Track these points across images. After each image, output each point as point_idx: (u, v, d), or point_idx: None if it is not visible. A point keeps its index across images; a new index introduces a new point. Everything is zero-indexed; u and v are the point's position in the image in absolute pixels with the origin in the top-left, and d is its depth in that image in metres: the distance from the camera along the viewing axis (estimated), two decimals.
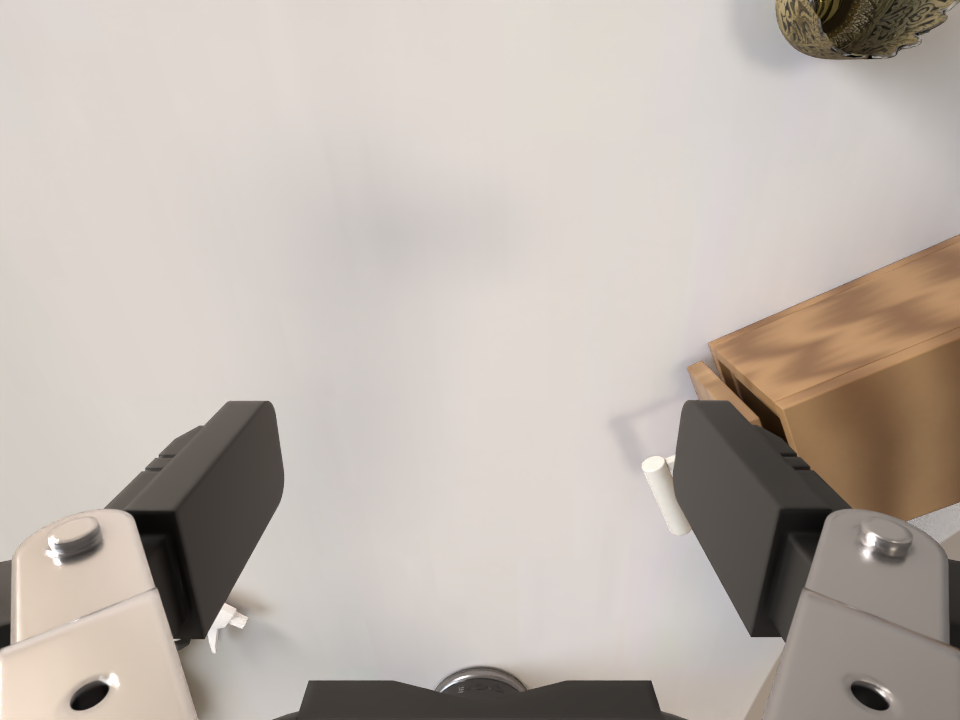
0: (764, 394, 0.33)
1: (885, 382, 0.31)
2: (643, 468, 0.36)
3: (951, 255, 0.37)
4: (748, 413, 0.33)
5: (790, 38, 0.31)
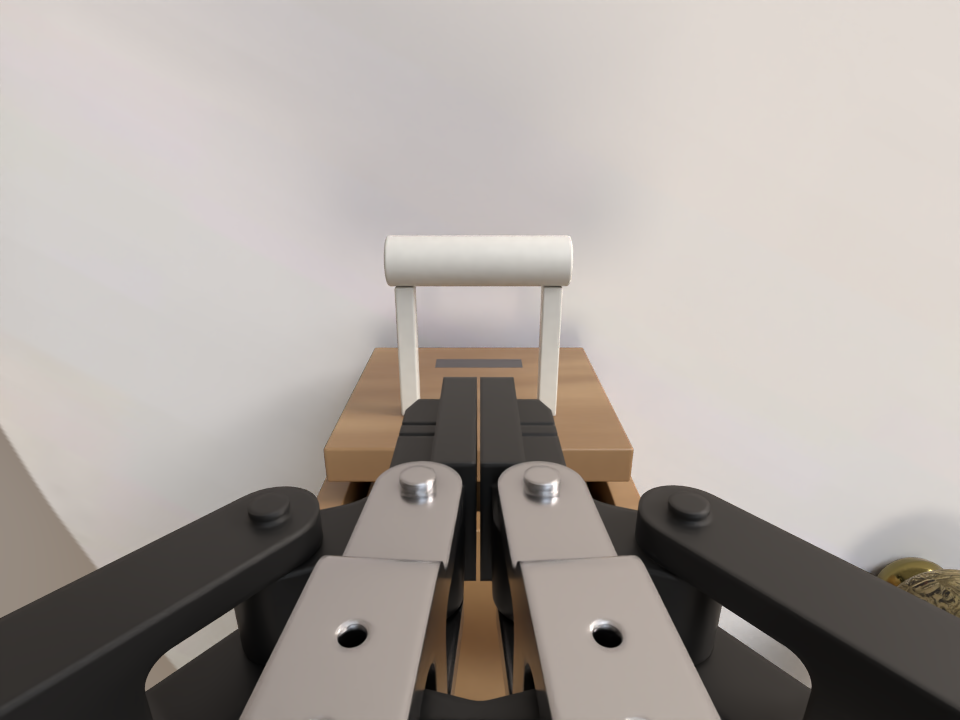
0: (634, 488, 0.19)
1: None
2: (570, 238, 0.17)
3: None
4: None
5: (957, 586, 0.26)
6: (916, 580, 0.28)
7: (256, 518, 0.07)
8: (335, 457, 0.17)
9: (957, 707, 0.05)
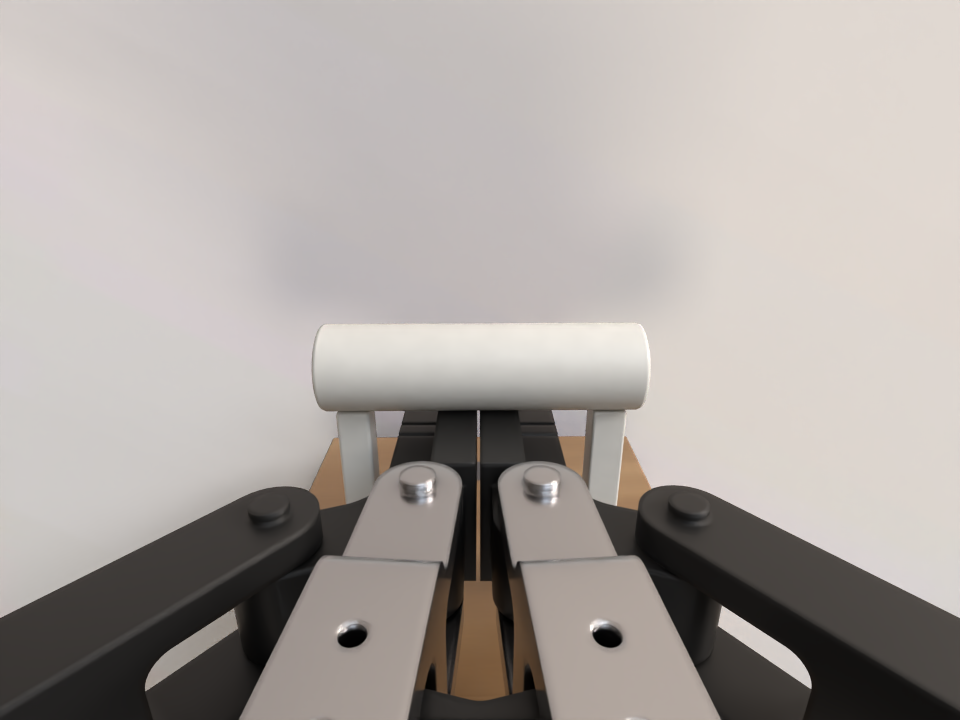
0: None
1: None
2: (643, 331, 0.10)
3: None
4: None
5: None
6: None
7: (256, 517, 0.07)
8: None
9: (958, 708, 0.05)
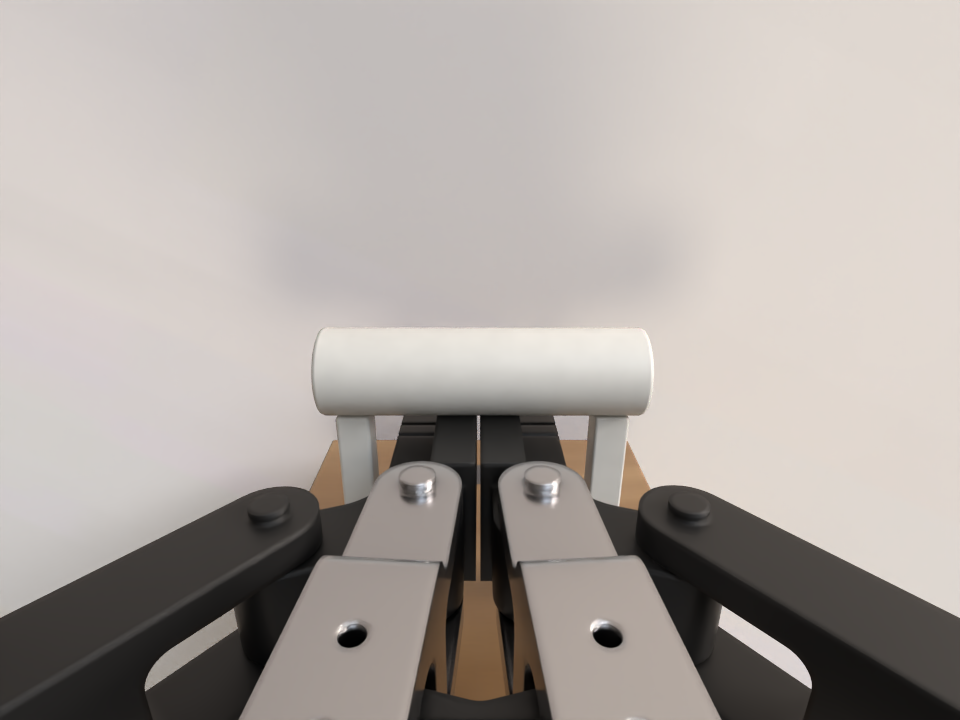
0: None
1: None
2: (647, 336, 0.10)
3: None
4: None
5: None
6: None
7: (256, 518, 0.07)
8: None
9: (958, 708, 0.05)
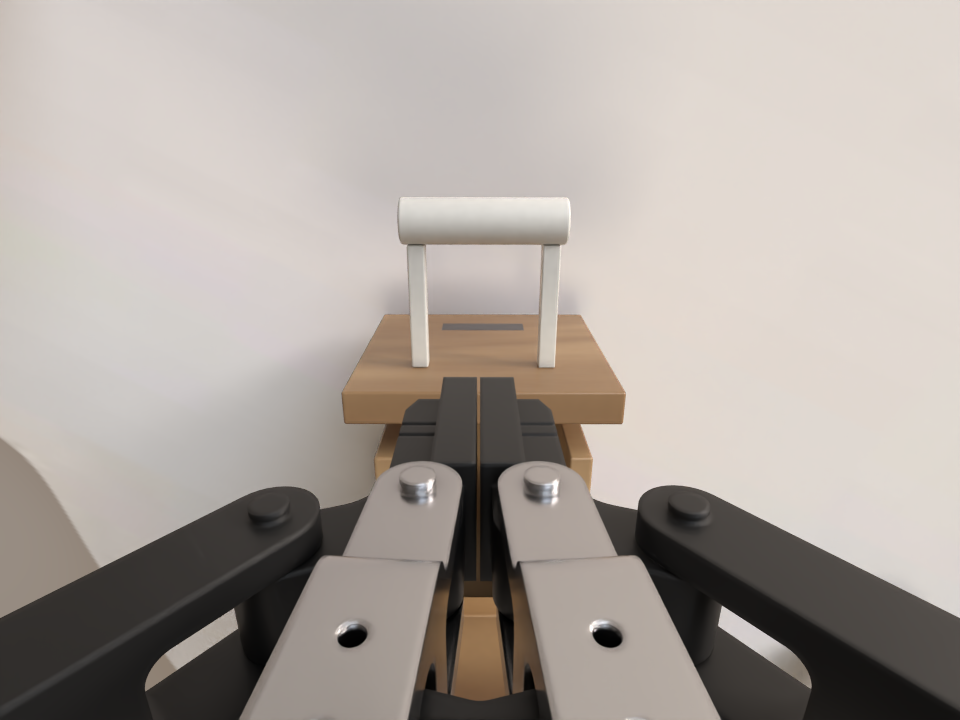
0: None
1: None
2: (568, 200, 0.19)
3: None
4: None
5: None
6: None
7: (256, 517, 0.07)
8: (352, 400, 0.19)
9: (958, 706, 0.05)
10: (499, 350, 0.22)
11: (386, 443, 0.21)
